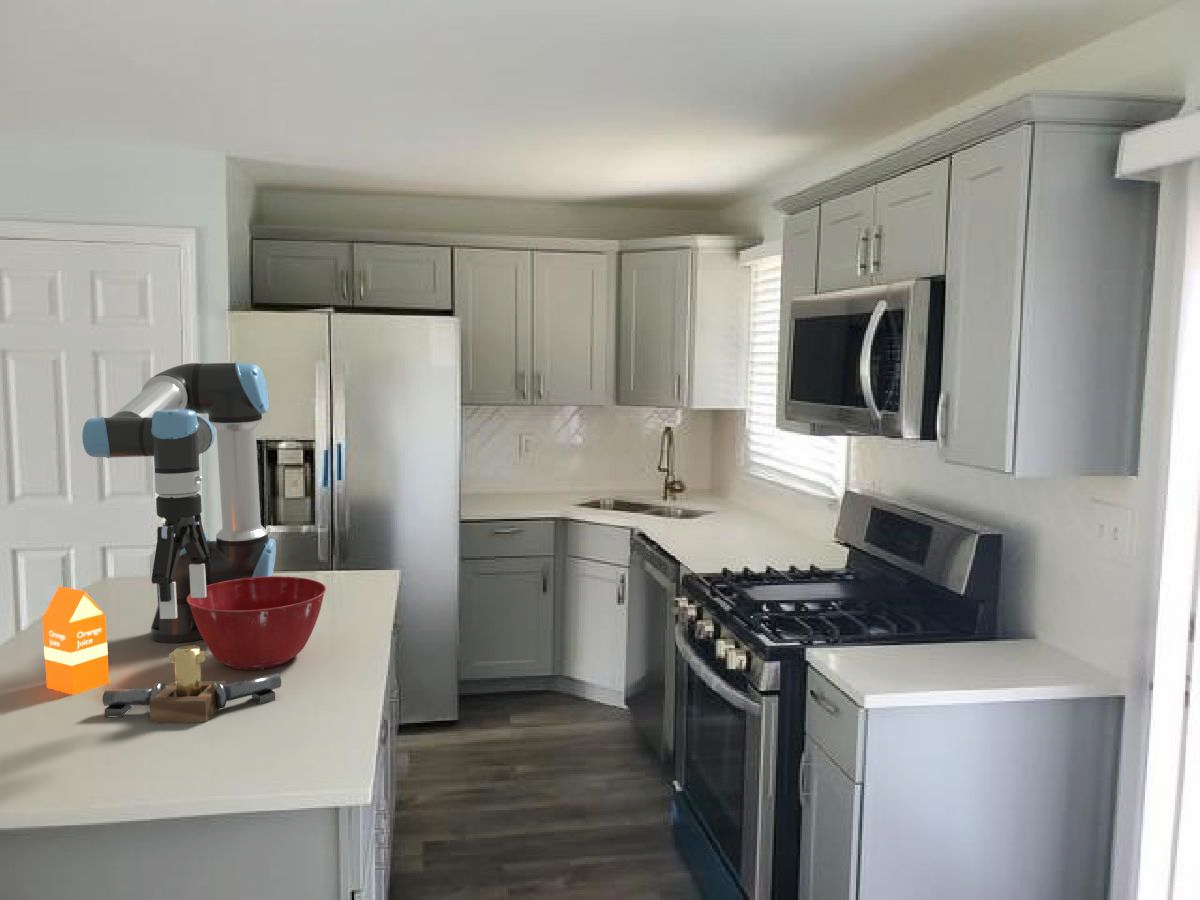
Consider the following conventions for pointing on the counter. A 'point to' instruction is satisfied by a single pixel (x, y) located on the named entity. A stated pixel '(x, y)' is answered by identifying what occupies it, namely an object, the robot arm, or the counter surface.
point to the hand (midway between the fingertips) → (184, 607)
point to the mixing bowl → (258, 619)
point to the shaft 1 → (128, 699)
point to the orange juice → (74, 642)
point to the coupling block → (183, 705)
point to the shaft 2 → (247, 689)
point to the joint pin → (187, 670)
